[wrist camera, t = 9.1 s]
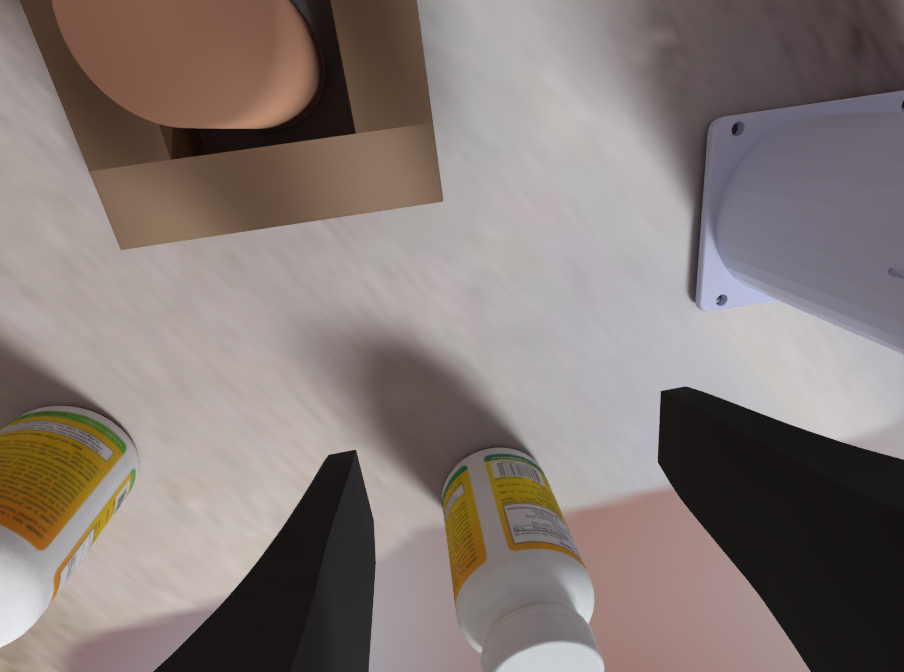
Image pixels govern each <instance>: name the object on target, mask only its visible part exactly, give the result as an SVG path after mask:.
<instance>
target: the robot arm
mask: <svg viewBox="0 0 904 672" xmlns="http://www.w3.org/2000/svg"><path fill="white" fill-rule="evenodd" d="M903 101H904V90H902V91H895V92H888V93H881V94H874V95H867V96H861V97H854V98H847V99H840V100H833V101H826V102H819V103H812V104H806V105H799V106H792V107H785V108H778V109H771V110H764V111H757V112H751V113H744V114H737V115H730V116H723V117H719V118H716V119H715V120H714V121H713V122H712V123H711V125H710V126H709V129H708V135H707V149H706V163H705V177H704V190H703V204H702V218H701V232H700V245H699V259H698V273H697V287H696V300H695V302H696V306H697V307H698V308H699V309H700V310H702V311H704V312H714V311H720V310H726V309H731V308H737V307H743V306H749V305H755V304H761V303H767V302H773V301H781V302H783V303H786V304H788V305H790V306H793V307H795V308H797V309H800V310H802V311H804V312H806V313H809V314H811V315H813V316H816V317H818V318H820V319H823V320H825V321H827V322H829V323H832V324H834V325H836V326H839V327H841V328H843V329H846V330H848V331H850V332H852V333H855V334H857V335H859V336H862V337H864V338H866V339H869V340H871V341H873V342H875V343H878V344H880V345H882V346H885V347H887V348H889V349H892V350H894V351H896V352H898V353H901V354H903V355H904V106H903V108H902V103H903ZM735 123H737V125H738V129H737V132H736V133H735V134H734V135H733V134H732V131H731V129H732V126H733V125H734V124H735ZM720 295H722V298H721V300H720V301H719V302H717V303H716V299H717V298H718V297H719V296H720ZM658 463H659V465H660V466H661V468H662V470H663V471H664V473H665V475H666V477H667V478H668V480H669V482H670V483H671V485H672V486H673V488H674V489H675V491H676V492H677V494H678V495H679V497H680V498H681V500H682V501H683V502H684V504H685V505H686V506H687V507H688V509H689V510H690V511H691V512H692V513H693V515H694V516H695V517H696V518H697V520H698V521H699V522H700V523H701V525H702V526H703V527H704V528H705V529H706V531H707V532H708V533H709V534H710V535H711V537H712V538H713V539H714V540H715V542H716V543H717V544H718V545H719V546H720V547H721V549H722V550H723V551H724V552H725V554H727V556H728V557H729V558H730V560H731V561H732V562H733V563H734V564H735V566H736V567H737V568H738V569H739V570H740V572H741V573H742V574H743V575H744V576H745V577H746V579H747V580H748V581H749V583H750V584H751V585H752V587H753V588H754V589H755V590H756V592H757V593H758V594H759V596H760V597H761V598H762V600H763V601H764V602H765V604H766V605H767V607H768V608H769V610H770V611H771V613H772V614H773V616H774V617H775V618H776V620H777V621H778V623H779V624H780V626H781V627H782V629H783V630H784V631H785V633H786V635H787V636H788V637H789V639H790V640H791V642H792V643H793V645H794V646H795V648H796V649H797V651H798V652H799V654H800V656H801V657H802V658H803V660H804V662H805V663H806V665H807V666H808V668H809V669H810V671H811V672H904V460H902V459H899V458H895V457H891V456H888V455H884V454H880V453H877V452H873V451H870V450H866V449H862V448H858V447H856V446H852V445H849V444H846V443H842V442H839V441H836V440H833V439H830V438H827V437H824V436H821V435H818V434H815V433H812V432H809V431H806V430H803V429H801V428H798V427H795V426H792V425H789V424H787V423H784V422H781V421H779V420H776V419H773V418H771V417H768V416H765V415H763V414H760V413H757V412H755V411H752V410H750V409H747V408H744V407H742V406H739V405H737V404H734V403H731V402H729V401H726V400H724V399H721V398H718V397H716V396H713V395H710V394H707V393H705V392H702V391H699V390H696V389H692V388H689V387H680V388H675V389H670V390H665V391H661V402H660V425H659V447H658ZM375 564H376V561H375V538H374V520H373V516H372V512H371V508H370V504H369V500H368V496H367V492H366V488H365V484H364V480H363V476H362V472H361V468H360V464H359V460H358V456H357V452H356V450H352V451H347V452H342V453H337V454H331V455H328V457H327V458H326V459H325V461H324V462H323V464H322V466H321V467H320V469H319V471H318V472H317V474H316V476H315V478H314V479H313V481H312V483H311V484H310V486H309V487H308V489H307V491H306V492H305V494H304V496H303V497H302V499H301V500H300V502H299V503H298V505H297V506H296V508H295V509H294V511H293V513H292V514H291V516H290V517H289V519H288V520H287V522H286V523H285V525H284V526H283V528H282V529H281V530H280V532H279V533H278V535H277V536H276V537H275V539H274V540H273V541H272V543H271V544H270V545H269V547H268V548H267V550H266V551H265V552H264V554H263V555H262V556H261V558H260V559H259V560H258V562H257V563H256V564H255V565H254V567H253V568H252V569H251V570H250V572H249V573H248V574H247V575H246V577H245V578H244V579H243V580H242V582H241V583H240V584H239V585H238V586H237V587H236V588H235V590H234V591H233V592H232V593H231V594H230V595H229V596H228V598H227V599H226V600H225V601H224V602H223V603H222V604H221V605H220V606H219V608H218V609H217V610H216V611H215V612H214V613H213V614H212V615H211V616H210V617H209V618H208V619H207V620H206V621H205V622H204V623H203V624H202V625H201V626H200V627H199V628H198V629H197V630H196V631H195V632H194V633H193V634H192V635H191V636H190V637H189V638H188V639H187V640H186V641H185V642H184V643H183V644H182V645H181V646H180V647H179V648H178V649H177V650H176V651H175V652H174V653H173V654H172V655H171V656H170V657H169V658H168V659H167V660H166V661H164V662H163V663H162V664H161V665H160V666H159V667H158V668H157V669H156V670H155V671H154V672H368V671H369V654H370V639H371V625H372V610H373V596H374V580H375Z"/></svg>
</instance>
